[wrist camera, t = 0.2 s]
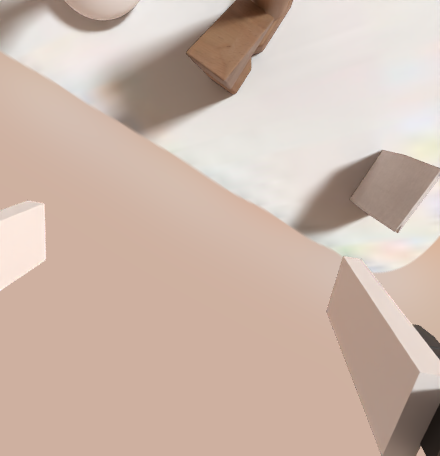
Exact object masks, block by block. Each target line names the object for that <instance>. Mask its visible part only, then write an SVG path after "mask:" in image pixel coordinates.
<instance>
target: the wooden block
mask: <svg viewBox="0 0 440 456" xmlns="http://www.w3.org/2000/svg"><path fill="white" fill-rule="evenodd" d="M292 2H293V0H236V1H235V2H234V3H233V4H232V5H231V6H230V7H229V8H228V9H227V10H226V11H225V12H224V13H223V14H222V15H221V17H220V18H219V19H218V20H217V21H216V22H215V23H214V24H213V25H212V26H211V27H210V28H209V29H208V30H207V31H206V32H205V33H204V34H203V35H202V36H201V37H200V38H199V39H198V40H197V41H196V42H195V43H194V44H193V45H192V46H191V47H190V48H189V50H188V51H187V52H186V54H187V55H188V56H189V57H190V58H191V59H192V60H193V61H194V62H195V63H196V64H197V65H198V66H199V67H200V68H201V69H202V70H203V71H204V72H205V73H206V74H207V75H208V76H209V77H210V78H211V79H212V80H213V81H215V82H216V83H217V84H219V85H220V86H221V87H223V88H224V89H226V90H227V91H228V92H230V93H231V94H236V93H237V91H238V90H239V88H240V86H241V85H242V83H243V82H244V80H245V79H246V77H247V75H248V74H249V72H250V71H251V57H252V55H253V54H257V53H260V52H262V51H263V50H264V49H265V47H266V45H267V44H268V42H269V41H270V39H271V38H272V36H273V34H274V33H275V31H276V30H277V28H278V26H279V25H280V23H281V22H282V20H283V19H284V17H285V15H286V14H287V12H288V11H289V9H290V8H291V5H292Z"/></svg>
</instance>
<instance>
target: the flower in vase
mask: <svg viewBox="0 0 440 456" xmlns="http://www.w3.org/2000/svg"><path fill="white" fill-rule="evenodd" d="M64 1H65V2H66V3H67V4H68V5H69V6H70V7H71V8H72V9H74V10H75V11H76V12H78V13H80V14H81V15H83V16H85V17H88V18H91V19H95V20H111V19H116V18H118V17H121V16H123V15H125V14H126V13H128V12H129V11H130V10H132V9H133V8H134V7H135V6H136V5H137V4H138V2H139V1H140V0H64Z"/></svg>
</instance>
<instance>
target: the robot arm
mask: <svg viewBox="0 0 440 456" xmlns="http://www.w3.org/2000/svg"><path fill="white" fill-rule="evenodd" d="M45 239H46V238H45V206H44V203H40V202H34V201H29V200H27V201H25V202H22V203H19V204H16V205H13V206H11V207H8V208H5V209H2V210H0V290H2V289H4V288H5V287H6V286H8V285H9V284H11V283H12V282H14V281H15V280H17V279H18V278H20V277H21V276H22V275H24V274H26V273H27V272H29V271H30V270H32V269H33V268H35V267H36V266H38V265H39V264H41V263H42V262H43V261H45V260H46V242H45V241H46V240H45ZM326 312H327V314H328V317H329V319H330V322H331V325H332V328H333V330H334V333H335V335H336V338H337V341H338V343H339V346H340V349H341V351H342V354H343V356H344V359H345V362H346V364H347V367H348V369H349V372H350V374H351V377H352V380H353V383H354V385H355V388H356V390H357V393H358V396H359V398H360V401H361V403H362V406H363V409H364V411H365V414H366V416H367V419H368V422H369V424H370V427H371V429H372V432H373V435H374V437H375V440H376V442H377V445H378V448H379V450H380V453H381V456H416V454H417V452H418V450H419V448H420V446H421V447H422V448H423V450H424V452H425V454H426V456H440V343H439V342H438V341H437V340H436V339H435V337H434V336H432V335H431V334H430V333H428V332H427V331H426V330H425V329H423V328H422V327H421V326H419V325H413V324H411V322H410V321H409V320H408V319H407V317H406V316H405V315H404V313H403V312H402V311H401V310H400V308H399V307H398V306H397V304H396V303H395V302H394V301H393V300H392V298H391V297H390V295H389V294H388V293H387V292H386V290H385V289H384V288H383V286H382V285H381V284H380V283H379V281H378V280H377V279H376V277H375V276H374V275H373V274H372V272H371V271H370V270H369V268H368V267H367V266H366V265H365V263H364V262H363V261H362V259H358V258H352V257H346V256H343V258H342V261H341V265H340V268H339V271H338V274H337V278H336V281H335V284H334V288H333V291H332V294H331V298H330V301H329V304H328V307H327V311H326Z"/></svg>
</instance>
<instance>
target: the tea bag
mask: <svg viewBox="0 0 440 456" xmlns="http://www.w3.org/2000/svg"><path fill="white" fill-rule="evenodd" d="M439 178H440V168H438V167H435V166H433V165H430V164H427V163H424V162H422V161H419V160H417V159H414V158H411V157H409V156H406V155H403V154H398V153H394V152H389V151H385V150H382V152H381V153H380V155H379V156H378V158H377V159H376V161H375V162H374V164H373V165H372V166H371V168H370V169H369V171H368V172H367V174H366V175H365V177H364V178H363V180H362V181H361V183H360V184H359V186H358V187H357V189H356V190H355V192H354V193H353V195H352V196H351V198H350V200H351V201H352V202H353V203H354V204H356V205H357V206H358V207H359V208H360V209H362V210H363V211H364V212H365V213H367V214H369V215H370V216H372V217H373V218H375V219H376V220H378V221H379V222H381V223H382V224H384V225H385V226H387V227H388V228H390V229H391V230H393V231H394V232H395V231H396V232H397V233H398V232H399V231H400V230H401V229H402V227H403V226H404V225H405V223H406V222H407V221H408V219H409V218H410V217H411V215H412V214H413V213H414V211H415V210H416V209H417V207H418V206H419V205H420V203H421V202H422V201H423V199H424V198H425V197H426V195H427V194H428V193H429V191H430V190H431V189H432V187H433V186H434V185H435V183H436V182H437V181H438V179H439Z"/></svg>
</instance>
